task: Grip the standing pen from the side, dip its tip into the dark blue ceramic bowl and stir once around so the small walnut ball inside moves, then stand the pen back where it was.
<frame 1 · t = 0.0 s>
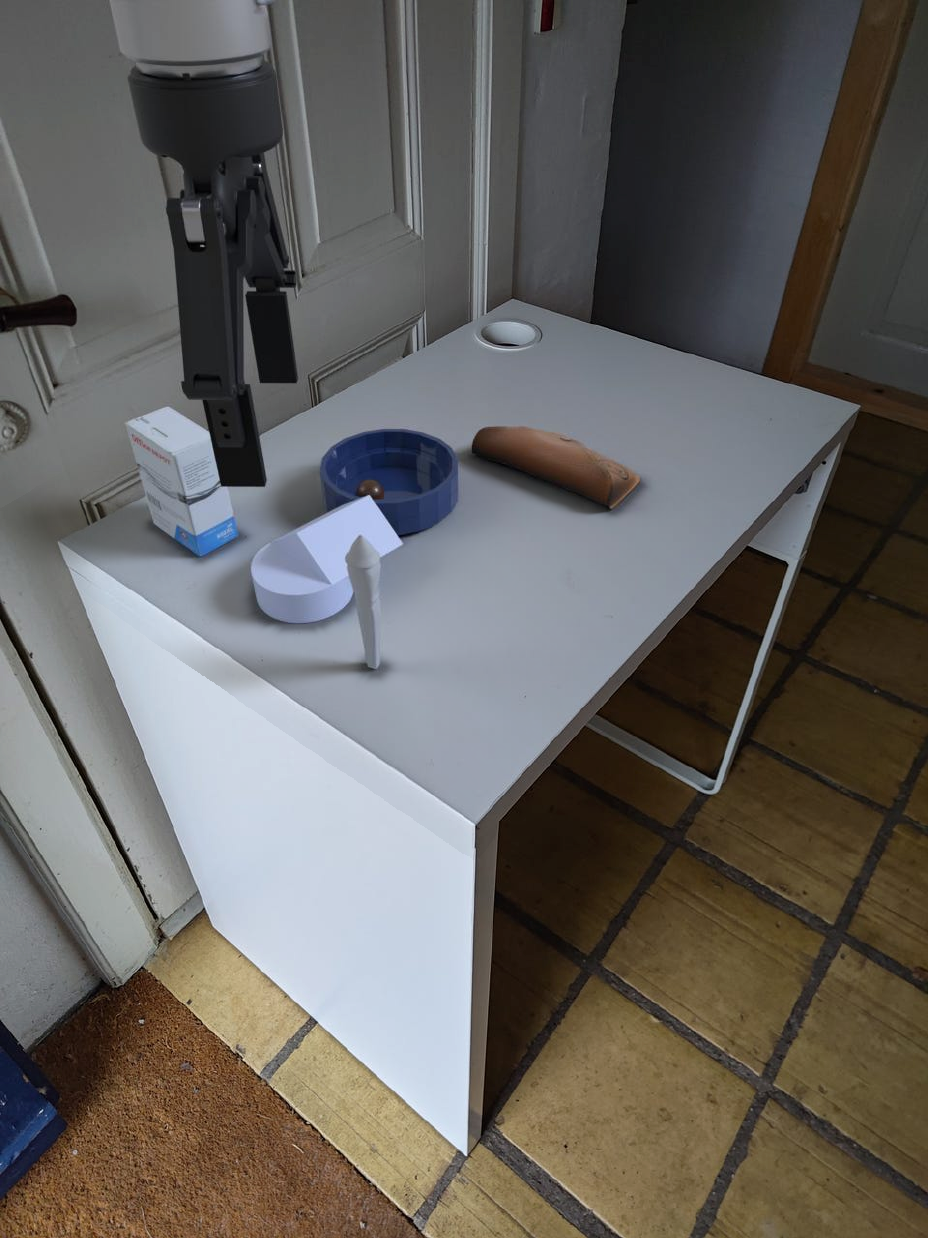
hand: (263, 428, 59), 23 cm above the table, tool pointing down, fingers open, 13 cm apart
bowl: (391, 499, 92), on the table
ink box: (196, 531, 88), on the table
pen: (373, 668, 74), on the table
wedge on round base: (322, 582, 82), on the table
sunglasses case: (555, 471, 97), on the table
ball: (369, 493, 89), point 2 cm above the table, touching bowl
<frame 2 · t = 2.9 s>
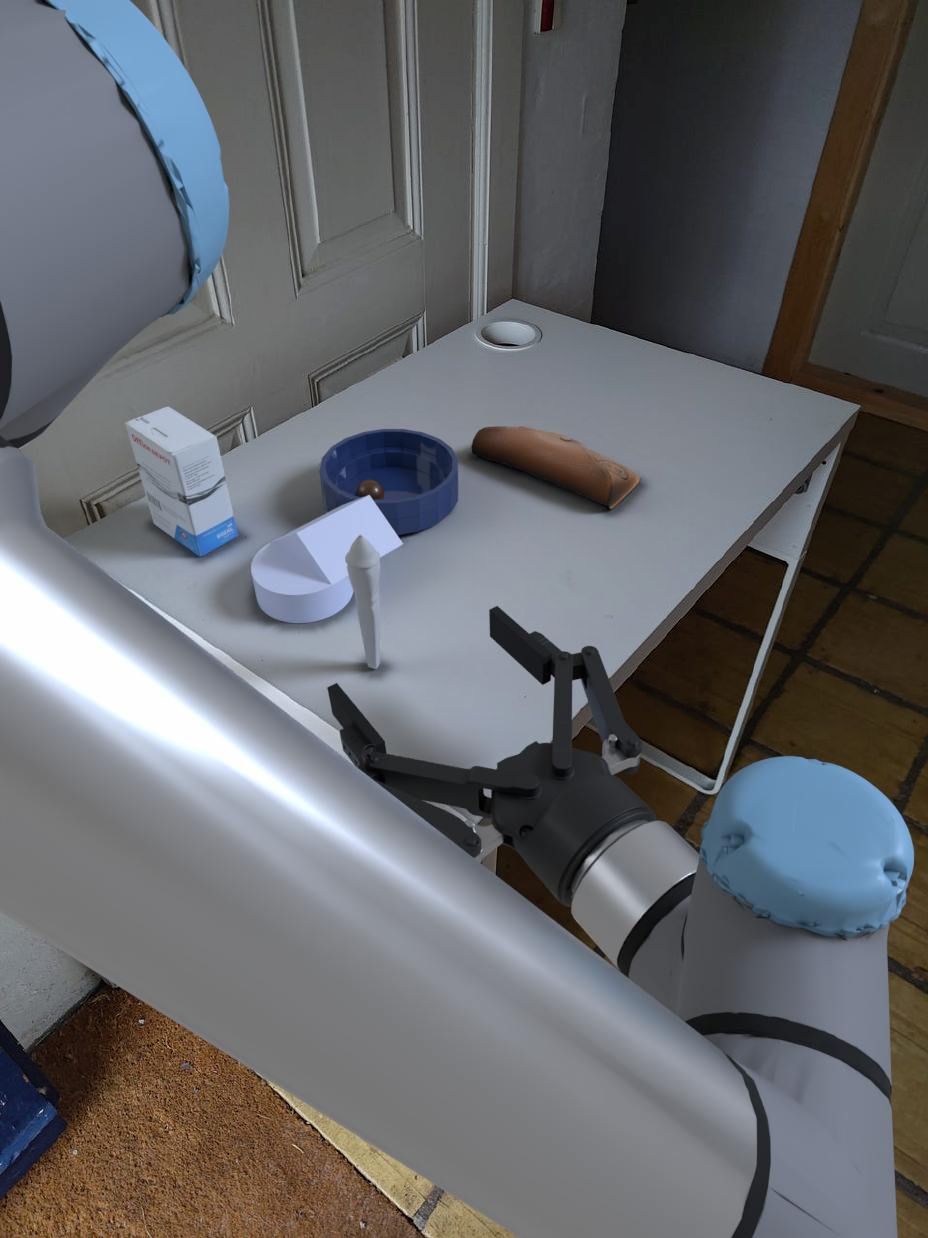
hand: (417, 657, 63), 8 cm above the table, tool horizontal, fingers open, 13 cm apart
nothing on the table moved.
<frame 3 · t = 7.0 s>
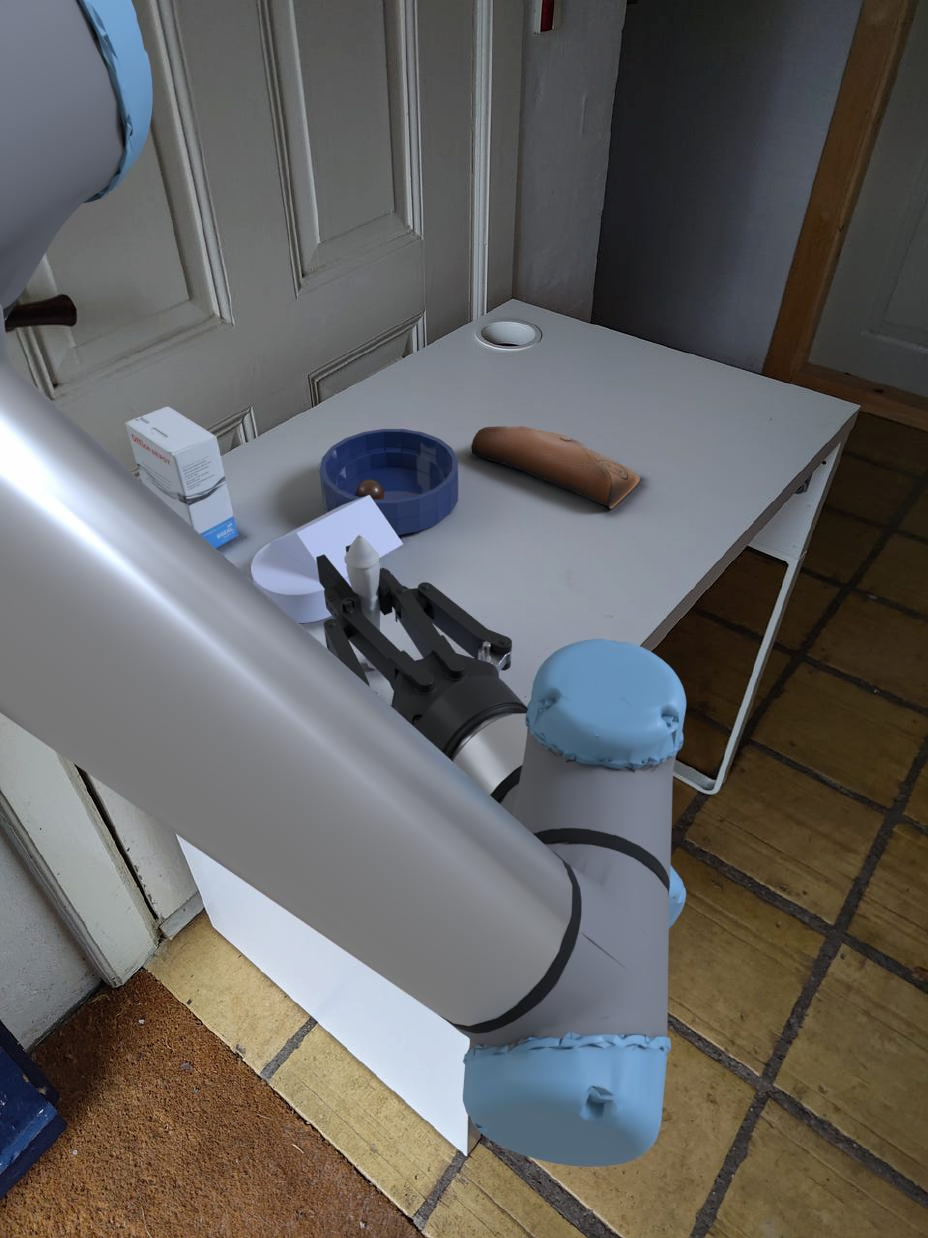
hand: (336, 563, 72), 8 cm above the table, tool horizontal, fingers closed on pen, 2 cm apart
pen: (373, 668, 74), on the table, touching gripper
everything else where it was.
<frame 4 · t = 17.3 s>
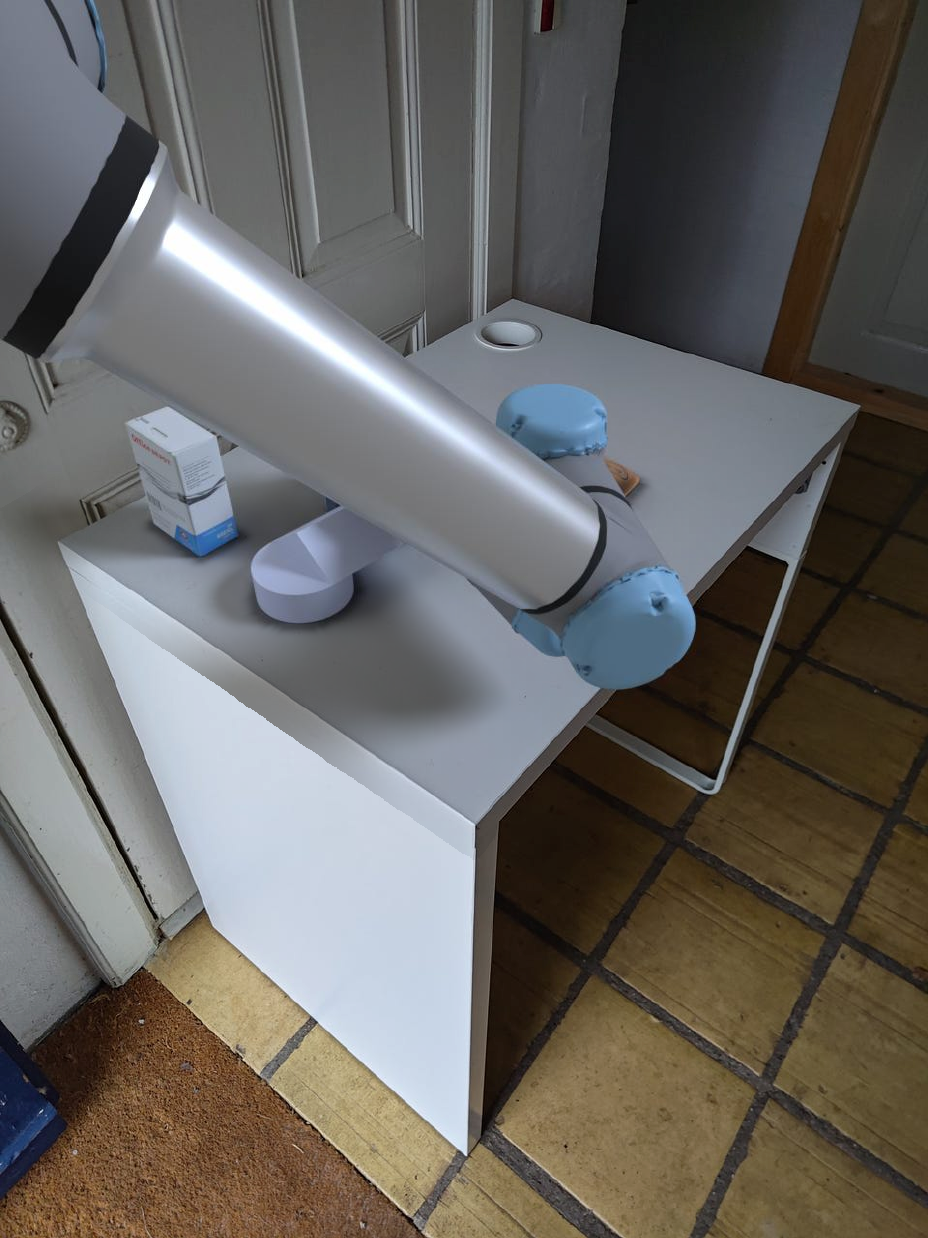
hand: (347, 405, 88), 10 cm above the table, tool horizontal, fingers closed on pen, 2 cm apart
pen: (376, 493, 90), point 2 cm above the table, touching gripper
ball: (371, 502, 88), point 2 cm above the table, tilted 63°, touching bowl
everything else where it was.
when the fingers open (7 cm above the table, at t = 26.9 s): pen stays where it is, on the table.
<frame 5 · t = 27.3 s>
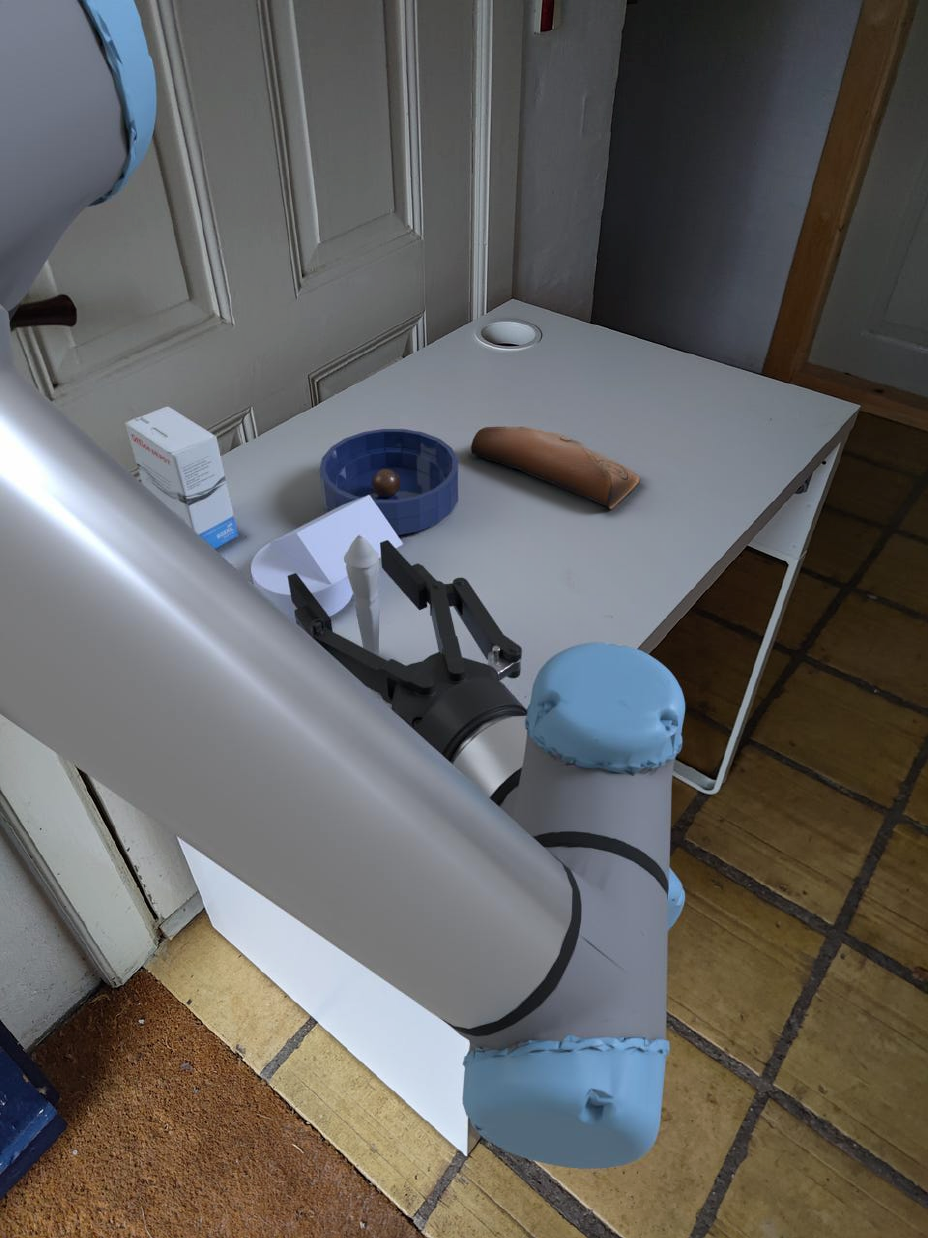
hand: (340, 570, 72), 7 cm above the table, tool horizontal, fingers open, 8 cm apart
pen: (372, 666, 74), on the table
ball: (385, 483, 91), point 2 cm above the table, tilted 87°, touching bowl
everything else where it was.
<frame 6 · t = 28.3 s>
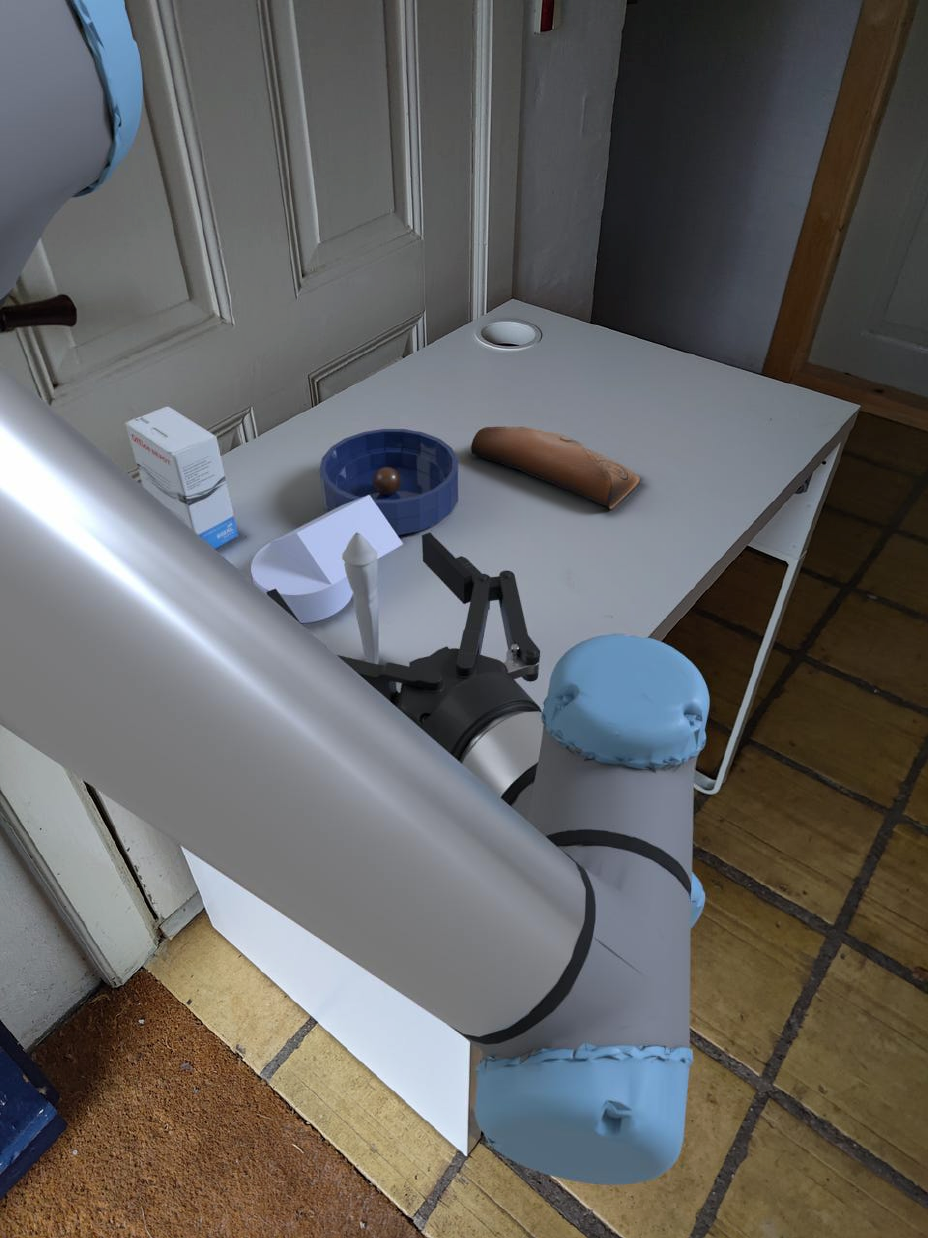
hand: (352, 573, 69), 9 cm above the table, tool horizontal, fingers open, 13 cm apart
ball: (387, 481, 91), point 2 cm above the table, tilted 101°, touching bowl
everything else where it was.
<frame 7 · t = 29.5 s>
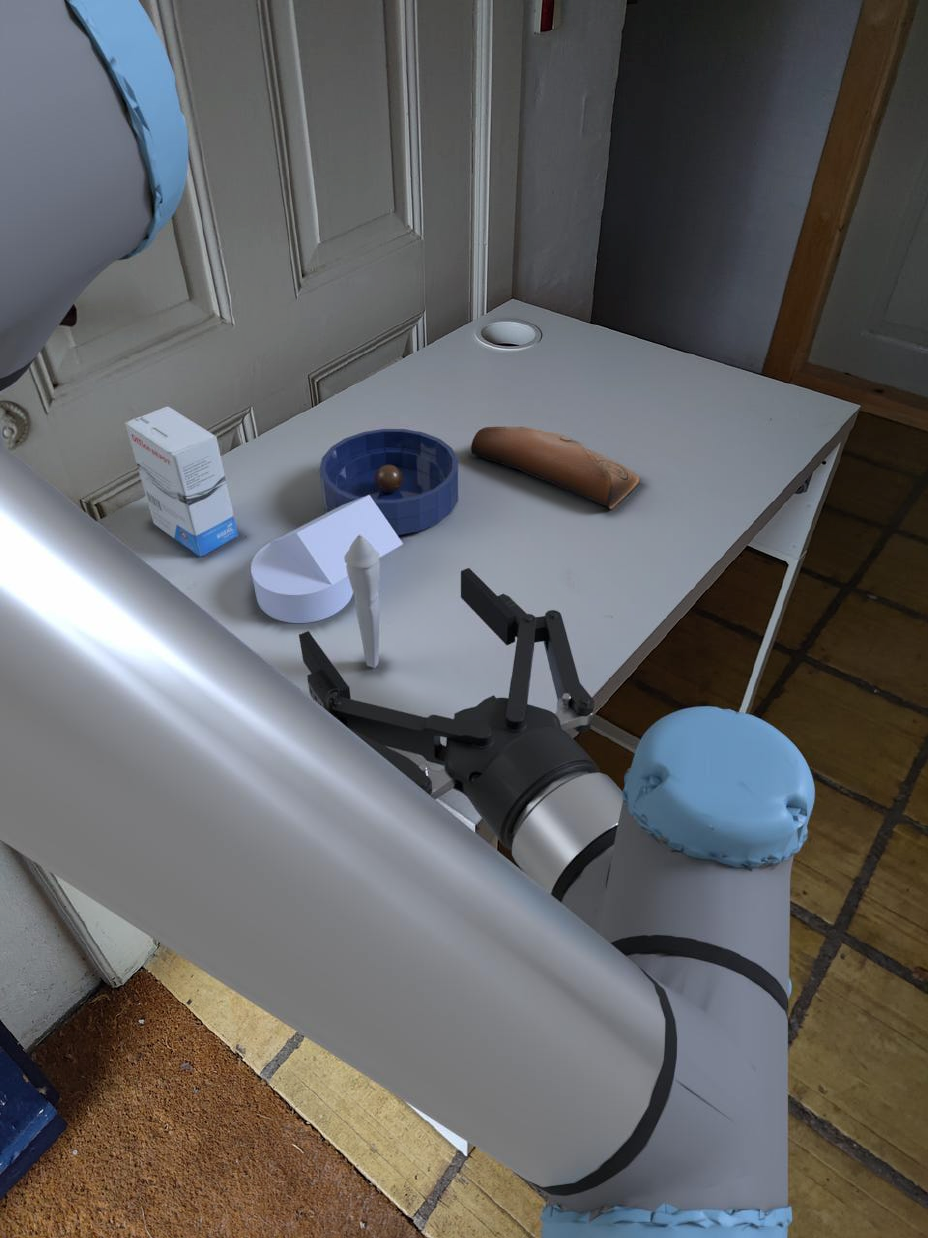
hand: (388, 612, 65), 9 cm above the table, tool horizontal, fingers open, 13 cm apart
ball: (388, 478, 92), point 2 cm above the table, tilted 117°, touching bowl
everything else where it was.
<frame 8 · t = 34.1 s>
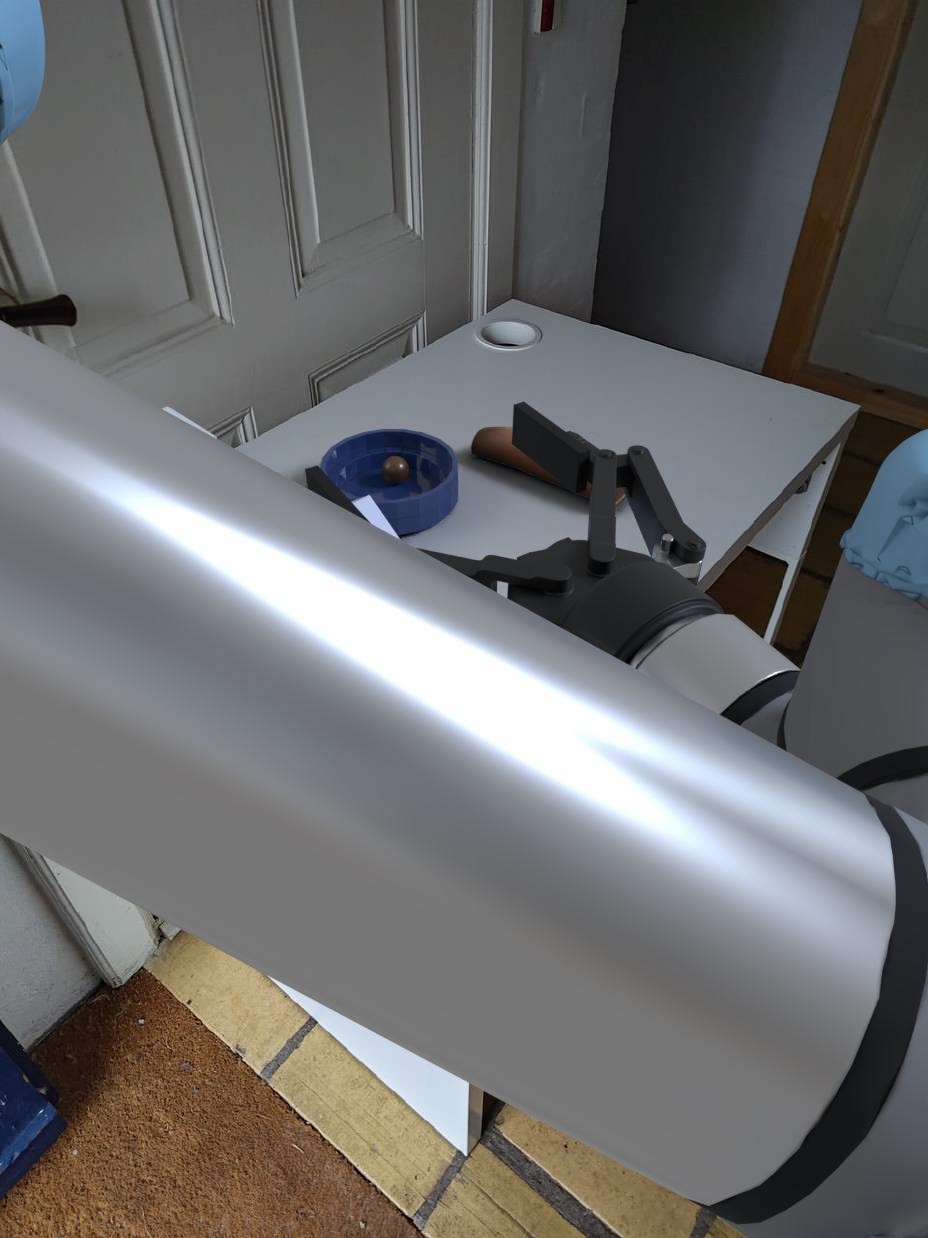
hand: (420, 453, 50), 26 cm above the table, tool horizontal, fingers open, 13 cm apart
ball: (395, 469, 93), point 2 cm above the table, tilted 154°, touching bowl
everything else where it was.
at the end: ball moved 5.2 cm from its start; ball inside the target area in the bowl (2.6 cm from its centre), point 2.1 cm above the bowl's base; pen tilted 0° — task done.
